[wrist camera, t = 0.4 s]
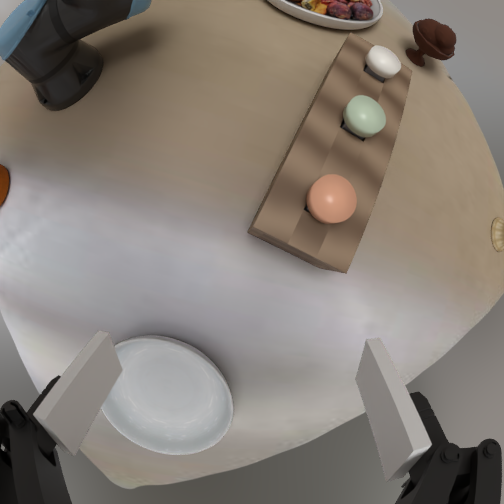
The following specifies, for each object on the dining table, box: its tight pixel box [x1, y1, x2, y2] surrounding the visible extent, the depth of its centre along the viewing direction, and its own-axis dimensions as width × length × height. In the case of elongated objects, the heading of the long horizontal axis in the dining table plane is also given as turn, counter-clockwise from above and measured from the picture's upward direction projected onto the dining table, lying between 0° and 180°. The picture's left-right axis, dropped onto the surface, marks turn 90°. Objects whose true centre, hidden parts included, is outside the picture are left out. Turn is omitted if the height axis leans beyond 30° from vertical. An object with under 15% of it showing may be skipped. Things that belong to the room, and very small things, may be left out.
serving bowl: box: [101, 335, 234, 455], centre depth 35 cm, size 21×21×7 cm
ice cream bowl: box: [406, 19, 456, 67], centre depth 35 cm, size 11×11×15 cm
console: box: [248, 32, 412, 273], centre depth 35 cm, size 36×12×10 cm, turn 154°
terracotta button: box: [304, 174, 357, 224], centre depth 30 cm, size 5×5×6 cm
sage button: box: [340, 95, 386, 140], centre depth 30 cm, size 5×5×6 cm
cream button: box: [363, 46, 401, 82], centre depth 30 cm, size 5×5×6 cm
